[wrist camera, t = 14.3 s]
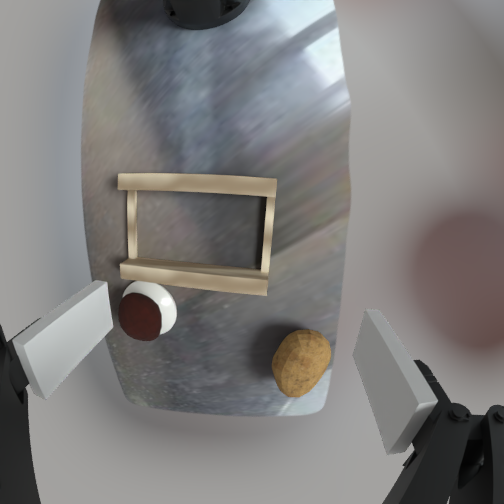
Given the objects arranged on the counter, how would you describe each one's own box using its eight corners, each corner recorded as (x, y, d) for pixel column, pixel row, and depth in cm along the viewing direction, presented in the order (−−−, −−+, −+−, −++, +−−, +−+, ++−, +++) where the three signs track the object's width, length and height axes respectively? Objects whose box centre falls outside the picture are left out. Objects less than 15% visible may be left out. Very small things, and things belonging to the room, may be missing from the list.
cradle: (131, 173, 43) (118, 173, 39) (276, 178, 42) (277, 179, 38) (132, 269, 48) (120, 278, 43) (267, 284, 46) (266, 295, 42)
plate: (121, 275, 48) (119, 277, 48) (176, 283, 48) (174, 284, 47) (127, 327, 51) (125, 329, 50) (178, 336, 51) (177, 338, 50)
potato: (265, 374, 52) (264, 402, 44) (280, 313, 48) (281, 338, 40) (314, 380, 51) (318, 408, 44) (334, 321, 47) (343, 346, 40)
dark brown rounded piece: (152, 278, 47) (132, 295, 40) (178, 322, 49) (164, 345, 41) (120, 293, 48) (99, 311, 41) (145, 334, 50) (129, 356, 43)
